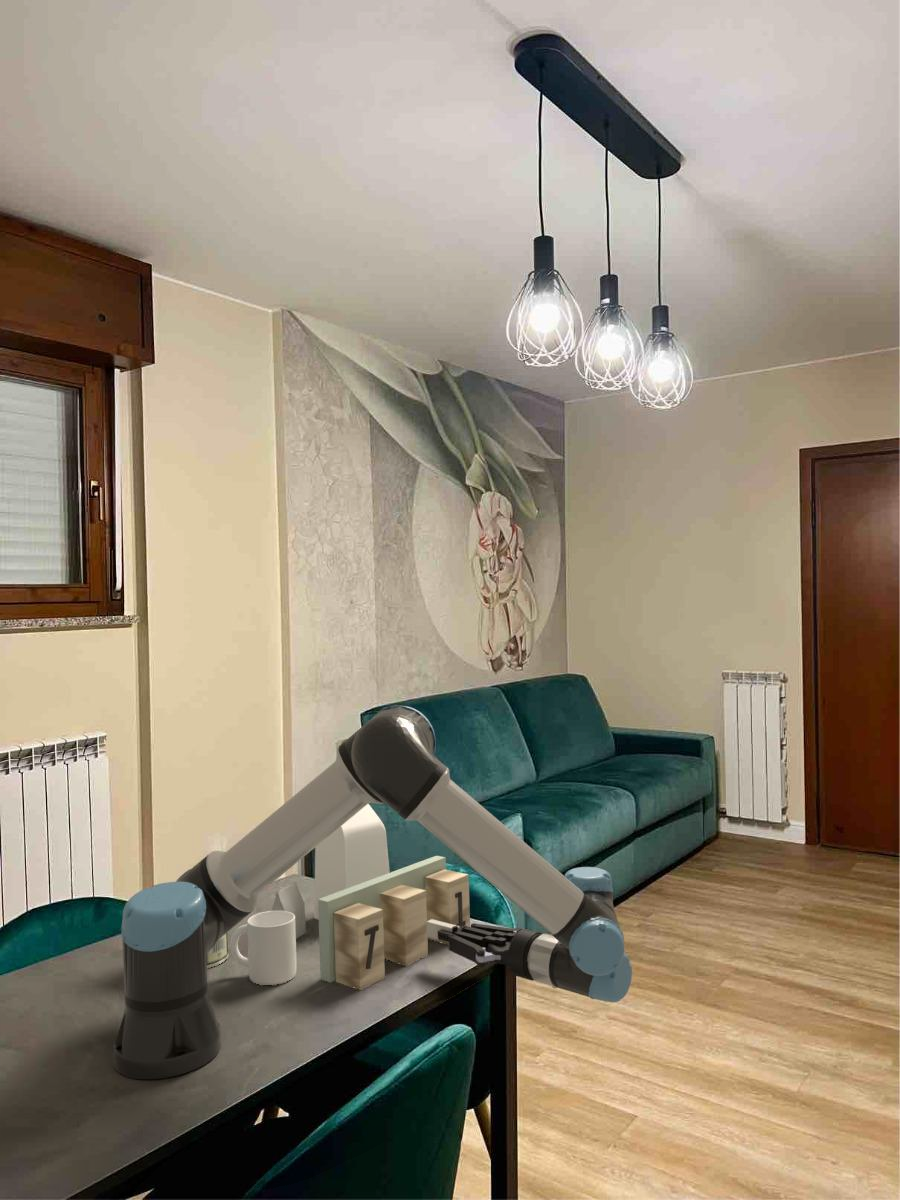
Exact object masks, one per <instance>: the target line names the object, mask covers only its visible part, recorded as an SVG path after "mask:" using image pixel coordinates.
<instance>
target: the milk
mask: <svg viewBox="0 0 900 1200" xmlns="http://www.w3.org/2000/svg"><path fill="white" fill-rule="evenodd" d="M314 849H315V852H314V853H315V854H314V855H315V856H314V861H315V862H314V907H313V911H314V915H313V918H314V919H315V920H318V921H319V912H318V899H320V898H323V897H325V896H328V895H331V894H334V893H336V892H339V891H342V890H344V889H347V888H350V887H353V886H355V885H358V884H361V883H363V882H366V881H369V880H372V879H374V878H377V877H380V876H382V875H385V874H388V873H391V871H390V861H389V860H390V859H389V849H388V839H387V830H386V827H385V825H384V823H383V821H382V820H381V818H380V817H379V816H378V814H377V813H376V811H375V810H374V809H373V808H372V806H371V805H370V803H368V804H367V805H366V806H365V807H364V808H362V809H361V810H360V811H359V812H358V813H356V814H355V815H354V816H353V817H351V818H350V819H349V820H348V821H347V822H345V823H344V824H343V825H342V826H341V827H339V828H338V829H337V830H336V831H334V832H333V833H332V834H331V835H330V836H328V837H327V838H326V839H325V840H324V841H322V842H321V843H320V844H319V845H317V846H316V847H315V848H314Z"/></svg>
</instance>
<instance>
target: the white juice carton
mask: <svg viewBox="0 0 900 1200" xmlns="http://www.w3.org/2000/svg"><path fill="white" fill-rule="evenodd" d="M297 883H298V882H297V881H294V882H292V883H291V884H288V885H286V886H285V887H282V888H281V889H280V890H278V891H276V894H275V898H274V901H273V904H272V907H271V909H270V911H287V912H291V913H293V914H294V915H295V932H296V940H297V939H299V938H300V937H301V936H303V935H304V934H306V911H305V907H306V905H305V901H304V899H303V896H302V894H301V893H300V890H299V887H298V884H297Z"/></svg>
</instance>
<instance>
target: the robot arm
mask: <svg viewBox="0 0 900 1200" xmlns="http://www.w3.org/2000/svg"><path fill="white" fill-rule="evenodd" d="M436 747H437V740H436V735H435V729H434V728H433V725H432V724H431V722H430V720H429V719H428V718H427V717H426V716H425V715H424V714H423V713H422V712H421V711H419V710H417V709H416V708H414V707H411V706H406V705H390V706H386V707H384V708H382V709H380V710H379V711H377V713H375V714H374V715H373V716H372V718H371V719H370V720H368V721H367V722H366V723H365V724H363V725H362V726H361V727H360V728H359V729H358V730H356V731H355V732H354V733H353V734H352V735H351V736H349V737H348V738H347V739H346V740H345V741H343V742H342V743H341V744H340V745H338V747H337V749H336V757H335V758H336V759H335V761H333V763H331V764H330V765H329V766H328V767H327V768H325V769H324V770H322V772H321V773H320V774H319V775H317V776H316V777H314V778H313V779H312V780H311V781H310V782H309V783H307V784H306V785H305V786H304V787H302V788H301V789H300V790H299V791H298V792H297V793H295V794H294V795H293V796H291V797H290V799H288V800H287V801H285V803H283V804H282V805H281V806H280V807H279V808H277V809H276V810H274V812H272V813H271V814H270V815H269V816H267V818H265V819H263V820H262V821H261V822H260V823H259V824H258V825H257V826H255V827H254V828H253V829H252V830H251V831H250V832H248V833H246V835H245V836H243V838H241V839H239V841H238V842H237V843H235V844H234V845H232V846H231V847H230V848H228V850H226V851H222V850H214V851H210V853H208V854H207V855H206V856H205V857H203V858H202V859H201V860H200V861H199V862H197V863H196V864H195V865H193V867H191V868H189V869H188V870H186V871H185V872H184V873H183V874H181V875H180V876H179V877H178V878H177V879H176V881H169V882H168V881H167V882H161V883H158V884H154V885H152V886H151V888H150V887H149V888H143V889H142V890H140V891H138V892H136V893H134V894H133V895H132V896H131V897H130V898H129V899H128V901H126V903H125V904H124V908H123V910H122V921H121V926H120V931H121V939H122V959H123V960H122V962H123V985H124V991H123V992H124V1010H123V1013H122V1016H121V1020H120V1023H119V1027H118V1029H117V1033H116V1036H115V1039H114V1043H113V1050H112V1051H113V1055H112V1056H113V1066H114V1069H115V1070H116V1071H117V1072H118V1073H119V1074H121V1075H123V1076H125V1077H128V1078H132V1079H139V1080H158V1079H159V1080H160V1079H166V1078H173V1077H177V1076H180V1075H183V1074H186V1073H190V1072H192V1071H194V1070H195V1071H196V1070H197V1069H199V1068H201V1067H203V1066H205V1065H207V1064H208V1063H210V1061H212V1060H213V1059H214V1058H215V1057H216V1056H217V1055H218V1054H219V1052H220V1050H221V1049H222V1031H221V1027H220V1026H221V1025H220V1023H219V1022H218V1019H217V1016H216V1013H215V1011H214V1007H213V1005H212V1002H211V999H210V997H209V996H210V995H209V993H208V992H209V991H208V969H207V953H208V952H209V951H210V950H211V949H212V947H213V946H214V945H215V944H216V943H217V942H218V940H219V939H220V938H221V937H222V936H223V935H225V934H226V933H227V934H228V932H229V931H231V930H232V929H233V928H234V927H236V926H237V925H238V924H239V923H240V922H241V921H242V920H244V919H245V918H246V917H247V916H248V915H251V913H252V912H254V911H255V910H256V908H257V907H258V906H259V905H258V904H259V895H260V893H262V892H263V891H264V890H265V889H267V888H268V887H269V886H270V885H271V884H273V883H274V882H275V881H276V880H277V879H279V878H280V877H281V876H282V875H284V874H285V873H286V872H287V871H288V870H290V869H291V868H292V867H294V865H296V864H297V863H299V862H300V860H302V859H303V858H304V857H306V856H307V855H308V854H309V853H310V852H311V851H313V850H314V849H315V847H316V846H317V845H319V844H320V843H321V842H322V841H324V840H325V839H326V838H327V837H328V836H330V835H331V834H332V833H333V832H334V831H336V830H337V829H338V828H339V827H341V826H342V825H343V824H344V823H345V822H347V821H348V820H349V819H350V818H351V817H353V816H354V815H355V814H356V813H358V812H359V811H360V810H361V809H362V808H364V807H365V806H366V805H367V804H378V805H383V804H385V805H386V806H388V807H389V808H390V809H391V810H392V811H394V813H396V814H397V815H398V816H400V817H401V818H402V819H403V820H404V821H406V822H408V821H409V822H410V821H411V822H412V821H417V822H418V823H419V824H421V825H422V826H423V827H424V828H425V829H426V830H427V831H429V832H430V834H432V835H433V836H435V837H436V838H437V839H438V840H440V842H441V843H443V844H444V845H445V846H446V847H448V848H449V849H450V850H451V851H452V852H453V853H454V854H456V855H457V856H458V857H459V858H460V859H462V860H463V861H464V862H465V863H466V864H468V865H469V866H470V867H471V868H472V869H473V870H475V872H477V873H478V874H479V875H481V877H483V879H485V880H486V881H488V882H489V883H490V884H491V885H492V886H494V888H496V889H497V890H498V891H499V892H500V893H502V894H503V895H504V896H505V897H506V898H507V899H508V900H510V901H511V902H512V903H513V904H514V905H516V906H517V907H518V908H519V909H521V911H523V912H524V913H525V914H526V915H528V916H529V917H530V918H531V919H532V920H533V921H535V923H537V924H538V925H539V926H541V927H542V929H544V930H545V931H546V932H548V933H549V934H548V933H542V932H539V931H536V930H531V929H526V928H523V927H522V928H521V927H519V928H516V927H515V928H514V927H513V928H511V927H510V928H509V927H504V926H496V925H489V924H482V923H470V927H469V926H462V927H460V926H456V925H453V924H449V923H445V922H441V921H437V920H433V919H431V920H429V921H427V937H430V938H434V939H437V940H441V941H445V942H448V943H449V945H448V950H449V951H450V952H452V953H454V954H456V955H457V956H460V957H462V958H465V959H467V960H469V961H471V962H473V963H474V964H475V965H477V967H478V968H484V967H485V966H486V963H487V962H493V963H495V964H498V965H499V964H500V965H506V966H507V967H508V968H509V971H510V973H512V975H514V976H515V977H517V978H522V979H525V980H529V981H535V982H537V983H540V984H544V985H547V986H551V988H553V989H560V990H565V991H568V992H570V993H574V994H578V995H581V996H584V997H588V998H589V999H591V1000H597V1001H603V1002H606V1003H607V1002H609V1003H618V1002H620V1001H622V999H624V998H625V997H626V995H627V994H628V992H629V989H630V987H631V983H632V978H633V969H632V968H633V967H632V964H631V963H630V962H631V961H630V958H629V956H628V955H627V954H626V953H625V936H624V933H623V931H622V929H621V926H620V924H619V921H618V917H617V914H616V911H615V907H614V900H613V898H614V897H613V896H614V895H613V893H614V889H613V883H612V881H613V880H612V876H611V874H610V873H609V871H607V870H606V869H603V868H599V867H596V866H595V867H594V866H581V867H580V866H579V867H574V868H572V869H569V870H568V871H566V872H565V873H564V874H563V873H562V872H560V871H559V870H558V869H557V868H555V866H553V865H552V864H551V863H550V862H548V861H547V859H545V858H544V857H542V855H540V854H539V853H538V852H536V851H535V849H533V848H532V847H531V846H530V845H528V844H527V843H526V842H525V841H524V840H522V839H521V838H520V837H519V836H518V835H516V834H515V833H514V832H513V831H512V830H511V829H510V828H508V827H507V826H506V825H505V824H503V822H501V821H500V820H499V819H498V818H497V817H496V816H494V815H493V814H492V813H491V812H490V811H488V809H486V808H485V807H483V805H481V804H480V803H479V802H478V801H476V799H474V798H473V797H472V796H471V795H469V794H468V793H467V791H465V790H463V788H461V787H460V786H459V785H458V784H456V783H455V781H453V780H452V779H451V778H450V768H448V767H447V766H446V765H445V764H444V763H442V761H440V760H439V759H438V758H437V757H436V756H435V754H436V753H435V752H436V749H437V748H436Z"/></svg>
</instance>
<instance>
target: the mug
mask: <svg viewBox="0 0 900 1200" xmlns="http://www.w3.org/2000/svg"><path fill="white" fill-rule="evenodd" d="M243 934H247V954H248V955H247V956H248V957H246V956H243V955H242V954H241V952H240V950H239V939H240V937H241V936H242V935H243ZM296 940H297V939H296V932H295V915H294V914H293V913H291V912H287V911H271V910H268V911H263V912H258V913H255V914H254V915H252V916H250V917H249V918H248V919H247V920H246V924H243V925H239V927H237V928H236V929H235V930H234V931H233V933H232V935H231V938H230V944H229V945H230V946H229V947H230V952H231V955H232V957H233V959H234V960H235V961H236V962H237V963H238V964H239V965H241V966H244V967H246V968H248V976H249V980H250V981H251V982H252V983H253V984H255V983H256V984H255V985H257V984H259V985H258V986H263V985H272V986H278V985H277V984H279V985H282V984H284V983H287V981H288V982H289V980H290V981H291V980H292V979H293V978H294V977H295V976H296V974H297V941H296Z"/></svg>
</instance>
